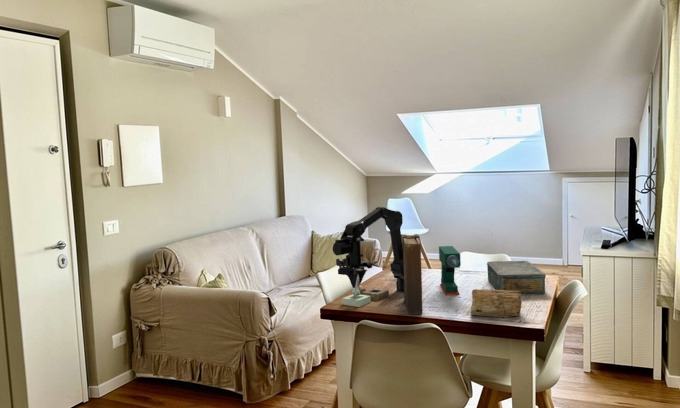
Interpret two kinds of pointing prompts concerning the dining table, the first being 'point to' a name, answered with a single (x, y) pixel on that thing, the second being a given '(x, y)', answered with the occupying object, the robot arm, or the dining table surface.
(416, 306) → the decorative book
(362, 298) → the block
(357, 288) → the steel pin
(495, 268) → the metal box
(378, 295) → the block
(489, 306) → the petrified wood
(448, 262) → the power tool
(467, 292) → the dining table surface
